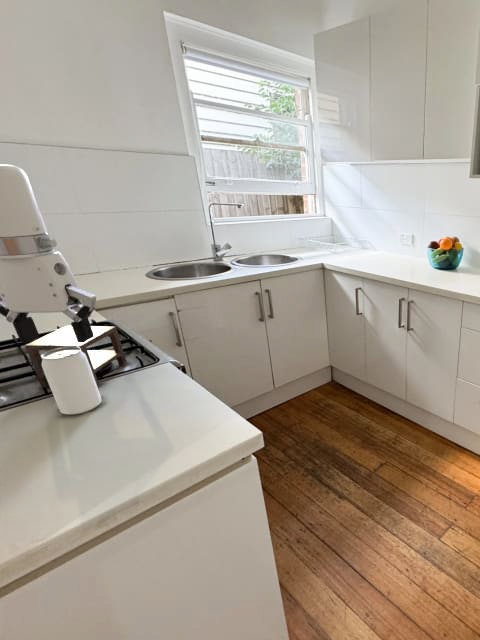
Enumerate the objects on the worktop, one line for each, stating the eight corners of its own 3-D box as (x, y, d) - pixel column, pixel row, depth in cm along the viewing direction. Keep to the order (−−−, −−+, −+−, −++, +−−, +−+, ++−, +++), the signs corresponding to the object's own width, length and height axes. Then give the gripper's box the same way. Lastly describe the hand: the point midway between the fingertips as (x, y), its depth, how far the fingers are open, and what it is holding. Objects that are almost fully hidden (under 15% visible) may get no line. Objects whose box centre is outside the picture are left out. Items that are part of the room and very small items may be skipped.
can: (84, 396, 79) (65, 343, 74) (110, 400, 78) (92, 347, 73) (51, 413, 74) (28, 357, 69) (79, 418, 72) (57, 361, 68)
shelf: (41, 387, 82) (24, 345, 78) (80, 364, 92) (66, 325, 88) (95, 387, 83) (80, 345, 79) (127, 364, 93) (115, 326, 89)
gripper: (92, 242, 67) (120, 332, 74) (-12, 241, 66) (27, 332, 73) (58, 250, 60) (93, 348, 67) (-59, 249, 59) (-11, 349, 66)
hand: (58, 340), depth 70 cm, fingers open, 9 cm apart
